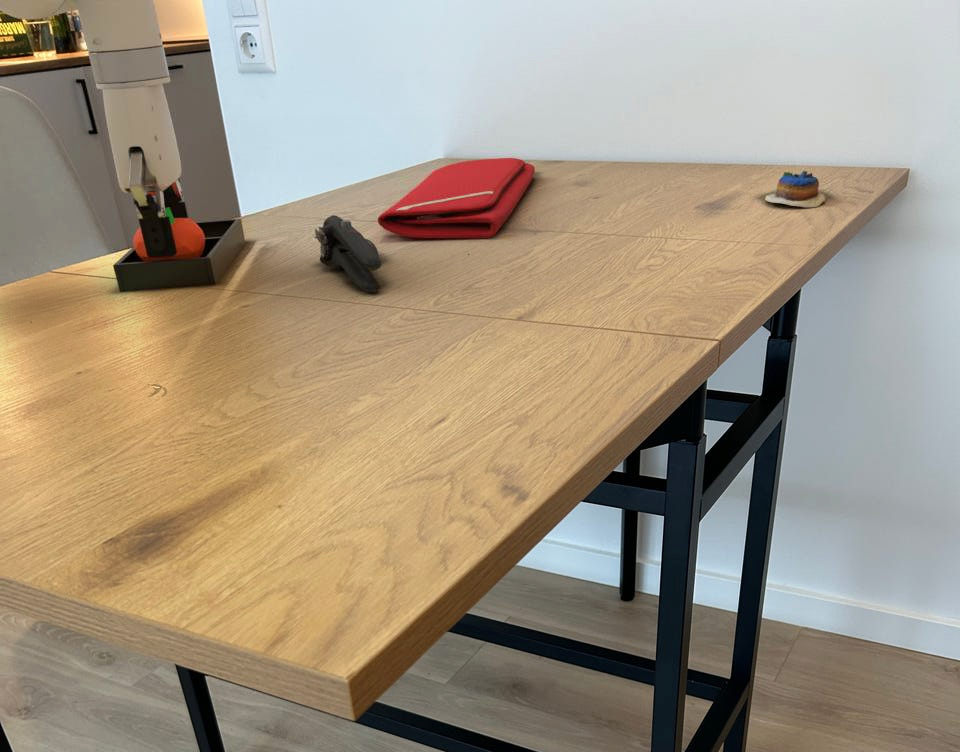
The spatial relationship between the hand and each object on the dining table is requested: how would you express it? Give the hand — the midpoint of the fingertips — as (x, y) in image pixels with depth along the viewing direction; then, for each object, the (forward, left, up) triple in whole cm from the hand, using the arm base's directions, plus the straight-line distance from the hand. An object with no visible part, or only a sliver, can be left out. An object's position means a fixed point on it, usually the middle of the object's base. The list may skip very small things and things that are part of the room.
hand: (170, 246), depth 114 cm
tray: (0, +5, -4) cm, 6 cm away
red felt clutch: (+34, +31, -4) cm, 46 cm away
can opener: (+21, -4, -4) cm, 22 cm away
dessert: (+77, +17, -4) cm, 78 cm away
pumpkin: (0, 0, -3) cm, 3 cm away
